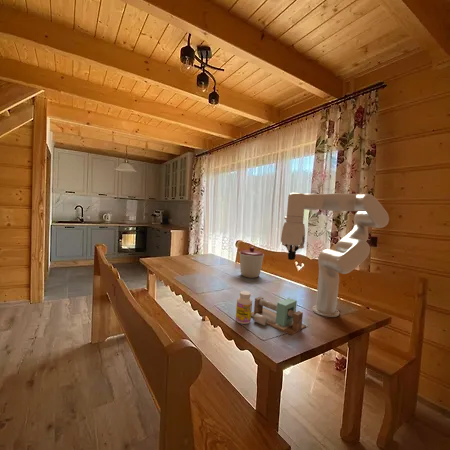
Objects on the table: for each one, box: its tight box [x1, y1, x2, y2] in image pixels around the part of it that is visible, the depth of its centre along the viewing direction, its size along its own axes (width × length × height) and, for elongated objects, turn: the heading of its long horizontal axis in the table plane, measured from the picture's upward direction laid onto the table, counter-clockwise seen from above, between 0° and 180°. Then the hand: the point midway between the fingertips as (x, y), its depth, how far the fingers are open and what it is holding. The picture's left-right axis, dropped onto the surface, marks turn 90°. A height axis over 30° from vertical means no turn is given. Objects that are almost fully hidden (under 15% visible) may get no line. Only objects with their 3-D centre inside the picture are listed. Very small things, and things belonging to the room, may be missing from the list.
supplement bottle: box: [235, 290, 253, 325], centre depth 113 cm, size 7×7×13 cm
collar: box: [276, 297, 298, 326], centre depth 112 cm, size 9×4×9 cm, turn 135°
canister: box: [238, 246, 265, 279], centre depth 185 cm, size 18×18×21 cm
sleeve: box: [253, 313, 268, 327], centre depth 113 cm, size 4×5×4 cm
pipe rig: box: [251, 296, 307, 336], centre depth 116 cm, size 12×23×8 cm, turn 45°
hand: (291, 259), depth 120 cm, fingers closed
